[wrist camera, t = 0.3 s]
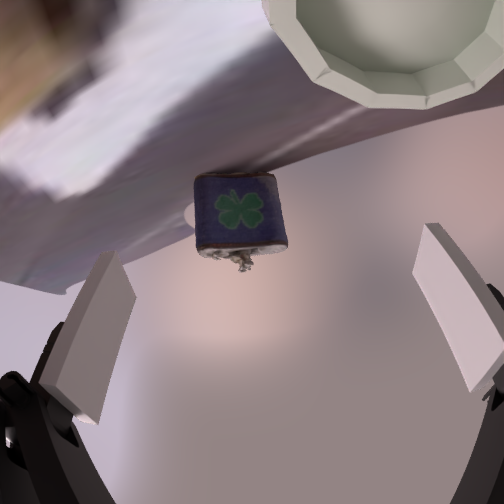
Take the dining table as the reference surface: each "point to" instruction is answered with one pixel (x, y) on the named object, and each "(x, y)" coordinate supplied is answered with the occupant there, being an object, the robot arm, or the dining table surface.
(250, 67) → the dining table surface
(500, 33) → the bowl
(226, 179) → the flask
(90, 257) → the dining table surface
